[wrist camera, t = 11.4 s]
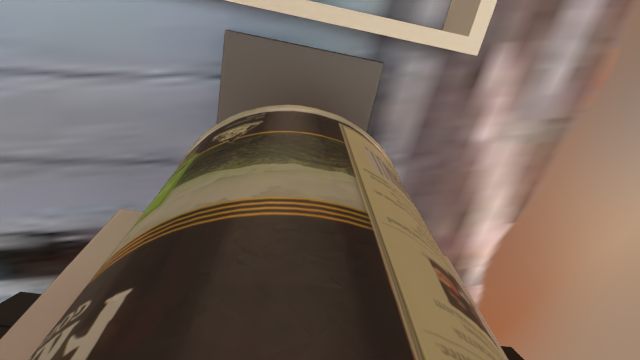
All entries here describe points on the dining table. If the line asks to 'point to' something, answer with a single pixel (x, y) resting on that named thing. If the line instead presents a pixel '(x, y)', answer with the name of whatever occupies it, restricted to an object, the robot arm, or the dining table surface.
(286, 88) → the charcoal mat
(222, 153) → the coffee can
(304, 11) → the open crate
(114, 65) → the dining table surface
